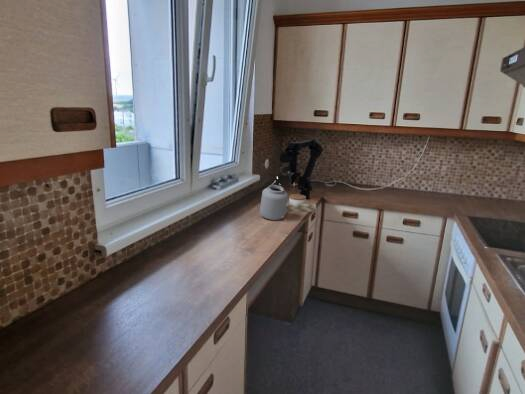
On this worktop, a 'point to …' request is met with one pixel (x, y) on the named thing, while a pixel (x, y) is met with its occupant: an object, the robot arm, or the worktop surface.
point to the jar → (273, 202)
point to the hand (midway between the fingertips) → (291, 184)
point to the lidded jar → (297, 199)
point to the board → (300, 208)
